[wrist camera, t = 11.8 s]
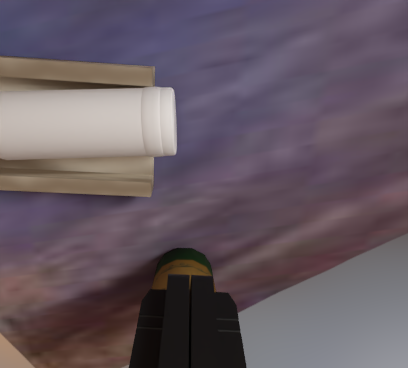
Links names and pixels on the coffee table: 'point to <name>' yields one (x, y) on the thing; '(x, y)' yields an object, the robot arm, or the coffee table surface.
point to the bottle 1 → (87, 123)
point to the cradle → (76, 167)
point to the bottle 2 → (181, 266)
